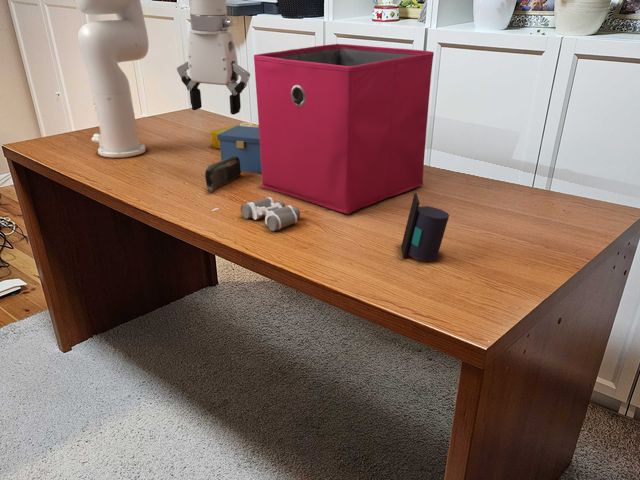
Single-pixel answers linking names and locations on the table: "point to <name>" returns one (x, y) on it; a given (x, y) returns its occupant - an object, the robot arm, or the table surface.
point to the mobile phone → (222, 172)
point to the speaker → (424, 231)
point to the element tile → (215, 132)
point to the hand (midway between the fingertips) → (215, 111)
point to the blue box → (242, 147)
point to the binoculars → (271, 213)
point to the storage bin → (343, 122)
